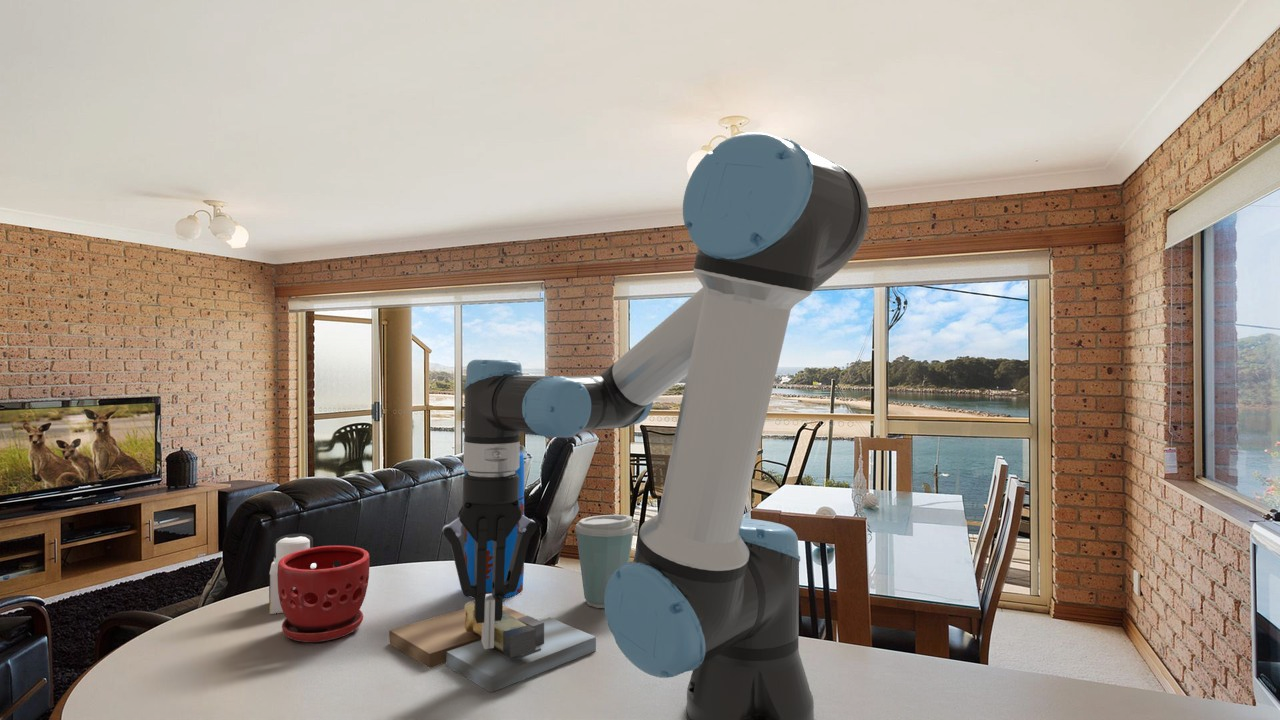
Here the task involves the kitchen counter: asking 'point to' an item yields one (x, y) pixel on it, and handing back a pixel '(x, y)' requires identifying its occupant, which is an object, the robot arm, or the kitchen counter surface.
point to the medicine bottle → (281, 549)
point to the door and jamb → (491, 666)
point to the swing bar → (504, 632)
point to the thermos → (510, 544)
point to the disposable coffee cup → (602, 552)
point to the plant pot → (322, 592)
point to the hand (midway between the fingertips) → (487, 644)
